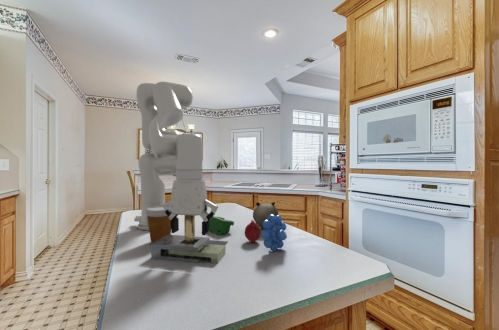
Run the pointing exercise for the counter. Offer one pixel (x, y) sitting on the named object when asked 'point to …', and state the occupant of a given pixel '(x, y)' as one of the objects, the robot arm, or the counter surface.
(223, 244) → the mat
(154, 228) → the disposable coffee cup
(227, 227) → the green angular piece
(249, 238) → the onion
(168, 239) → the clevis
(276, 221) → the grapes
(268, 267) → the counter surface
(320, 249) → the counter surface
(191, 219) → the pin
